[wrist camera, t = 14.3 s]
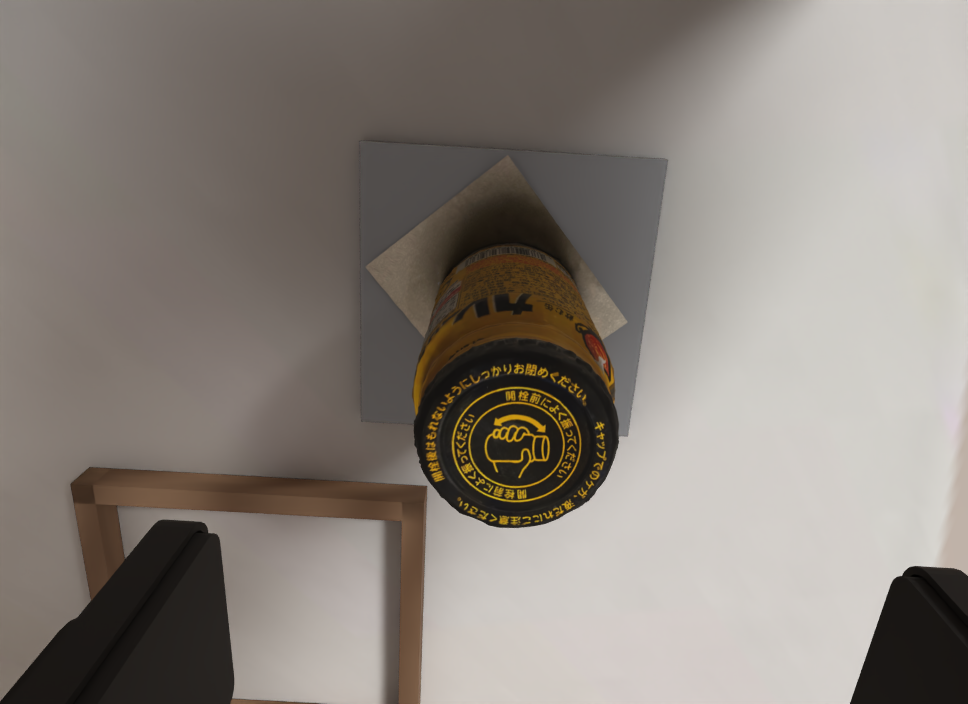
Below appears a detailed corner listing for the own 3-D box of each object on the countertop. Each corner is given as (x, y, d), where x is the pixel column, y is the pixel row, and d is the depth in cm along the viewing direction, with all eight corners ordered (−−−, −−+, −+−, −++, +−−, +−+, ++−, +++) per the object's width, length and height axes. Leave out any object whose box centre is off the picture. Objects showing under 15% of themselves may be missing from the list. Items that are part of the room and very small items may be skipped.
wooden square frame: (427, 486, 31) (424, 503, 30) (419, 722, 36) (416, 747, 35) (89, 467, 31) (70, 483, 30) (129, 707, 36) (114, 731, 35)
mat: (664, 159, 26) (668, 159, 25) (625, 430, 30) (627, 436, 29) (362, 140, 26) (359, 141, 25) (363, 415, 30) (361, 421, 29)
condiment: (489, 414, 29) (488, 601, 18) (365, 265, 27) (275, 371, 16) (627, 320, 28) (720, 459, 16) (507, 154, 25) (520, 182, 14)
